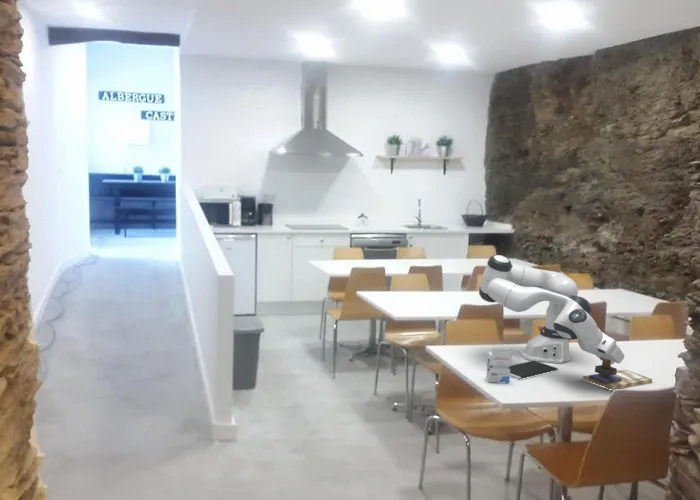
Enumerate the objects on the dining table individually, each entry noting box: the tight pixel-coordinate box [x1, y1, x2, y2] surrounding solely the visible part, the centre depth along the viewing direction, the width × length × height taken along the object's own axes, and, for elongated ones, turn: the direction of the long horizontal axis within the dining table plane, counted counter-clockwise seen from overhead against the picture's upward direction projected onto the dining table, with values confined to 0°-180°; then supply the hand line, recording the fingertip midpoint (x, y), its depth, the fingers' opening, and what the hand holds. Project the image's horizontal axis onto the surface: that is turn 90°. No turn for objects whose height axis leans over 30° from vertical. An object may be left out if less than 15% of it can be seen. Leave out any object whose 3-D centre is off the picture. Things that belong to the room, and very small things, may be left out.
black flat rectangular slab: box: [510, 360, 559, 380], centre depth 301 cm, size 13×27×2 cm, turn 128°
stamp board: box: [581, 369, 653, 390], centre depth 293 cm, size 26×14×3 cm, turn 119°
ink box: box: [485, 347, 512, 383], centre depth 284 cm, size 8×5×15 cm, turn 96°
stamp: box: [594, 358, 618, 376], centre depth 288 cm, size 6×6×9 cm
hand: (607, 361), depth 288 cm, fingers closed on stamp, 3 cm apart
